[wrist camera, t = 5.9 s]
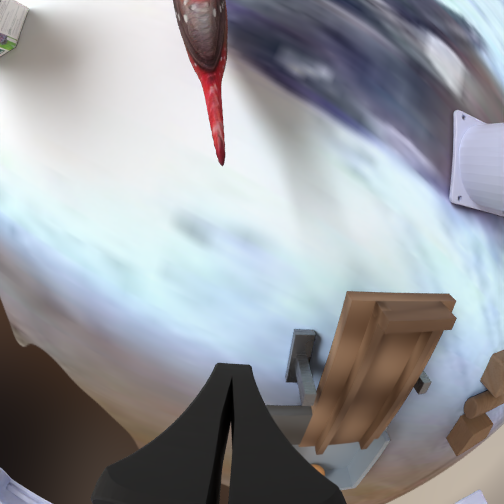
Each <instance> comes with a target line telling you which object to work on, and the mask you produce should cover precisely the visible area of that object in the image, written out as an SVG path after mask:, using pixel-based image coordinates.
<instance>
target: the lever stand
mask: <svg viewBox="0 0 504 504" xmlns="http://www.w3.org/2000/svg"><path fill="white" fill-rule="evenodd" d="M314 340H315V332H314V330H301V329H294V332H293V338H292V344H291V349H290V355H289V360H288V365H287V371H286V376H285V377H286V382H298V387H299V392H300V398H301V403H302V406H313V405H314V402H315V399H316V395H317V393H316V389H315V385H314V381H313V377H312V374H311V370H310V366H309V362H310V358H311V353H312V349H313V345H314ZM430 384H431V381H430V379H429V378H428V377H427V375H426V374H425V372H424V371H423V372H422V373H421V375H420V377H419V378H418V380H417V382H416V384H415V385H414V388H415V390H416V391H417V393H418V394H423V393H426V392H427V390H428V388H429V386H430Z"/></svg>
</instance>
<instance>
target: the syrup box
mask: <svg viewBox="0 0 504 504" xmlns="http://www.w3.org/2000/svg"><path fill="white" fill-rule="evenodd" d="M28 10H29V8H27V7H26V6H24V5H22V4H20V3H18V2H17V1H15V0H0V56H1V55H3V54H5V53H6V52H8V51H10V50H11V49H13V48H15V47H16V45H17V41H18V38H19V35H20V32H21V29H22V26H23V23H24V20H25V18H26V15H27V12H28Z"/></svg>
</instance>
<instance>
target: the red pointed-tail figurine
mask: <svg viewBox="0 0 504 504" xmlns="http://www.w3.org/2000/svg"><path fill="white" fill-rule="evenodd" d="M173 3H174V9H175V13H176V18H177V22H178V26H179V29H180V32H181V36H182V38H183V41H184V44H185V47H186V50H187V53H188V57H189V59H190V62H191V64H192V66H193V68H194V70H195V72H196V74H197V75H198V77H199V79H200V81H201V84H202V87H203V91H204V95H205V100H206V105H207V111H208V115H209V121H210V127H211V131H212V137H213V140H214V146H215V149H216V155H217V157H218V160H219V163H220V164H221V165H222V166H223V165H224V161H225V142H224V126H223V114H222V113H223V110H222V99H221V82H222V78H223V73H224V70H225V66H226V61H227V33H228V24H227V10H226V2H225V0H173Z"/></svg>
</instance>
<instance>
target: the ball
mask: <svg viewBox="0 0 504 504" xmlns="http://www.w3.org/2000/svg"><path fill="white" fill-rule="evenodd" d="M311 465H312V466H313V467H314V468H315V469H316V470H318V471H319V472H320V473H321V474H322V475H324V476H325V471H324V469H323V468H322V467H321V466H320V465H317V464H311Z"/></svg>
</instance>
